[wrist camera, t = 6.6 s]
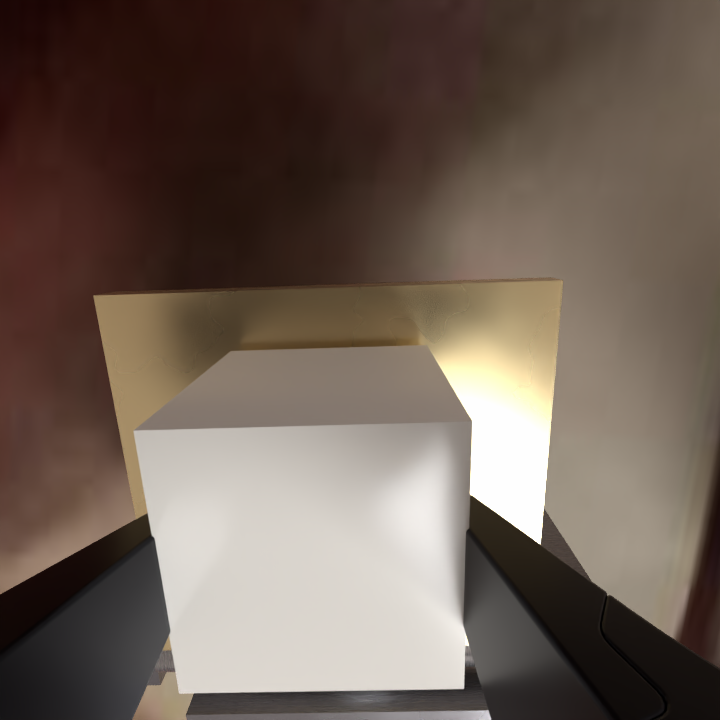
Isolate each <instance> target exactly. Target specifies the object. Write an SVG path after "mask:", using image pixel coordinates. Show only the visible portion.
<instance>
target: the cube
mask: <svg viewBox="0 0 720 720" xmlns="http://www.w3.org/2000/svg"><path fill="white" fill-rule="evenodd" d="M472 423H473V421H472V420H471V418H470V416H469V415H468V413H467V411H466V410H465V408H464V406H463V405H462V403H461V401H460V400H459V398H458V396H457V395H456V393H455V391H454V389H453V388H452V386H451V384H450V383H449V381H448V379H447V378H446V376H445V374H444V373H443V371H442V369H441V368H440V366H439V364H438V363H437V361H436V359H435V358H434V356H433V354H432V353H431V351H430V349H429V348H428V346H427V345H412V346H380V347H347V348H314V349H282V350H249V351H230V352H229V353H228V354H227V355H225V356H224V357H223V358H222V359H220V360H219V361H218V362H217V363H216V364H214V365H213V366H212V367H211V368H209V369H208V370H207V371H206V372H205V373H203V374H202V375H201V376H200V377H198V378H197V379H196V380H195V381H194V382H192V383H191V384H190V385H189V386H187V387H186V388H185V389H184V390H183V391H181V392H180V393H179V394H178V395H176V396H175V397H174V398H173V399H171V400H170V401H169V402H168V403H167V404H165V405H164V406H163V407H162V408H160V409H159V410H158V411H157V412H156V413H154V414H153V415H152V416H151V417H149V418H148V419H147V420H146V421H145V422H143V423H142V424H141V425H140V426H138V427H137V428H136V429H135V430H134V437H135V443H136V449H137V454H138V460H139V466H140V471H141V477H142V483H143V489H144V494H145V500H146V506H147V512H148V517H149V523H150V529H151V534H152V536H153V537H154V538H155V543H156V549H157V555H158V561H159V566H160V572H161V578H162V584H163V590H164V596H165V601H166V607H167V613H168V619H169V625H170V630H171V631H170V634H169V637H170V643H171V649H172V655H173V660H174V666H175V672H176V677H177V683H178V689H179V693H241V692H304V691H367V690H430V689H464V674H465V643H466V633H465V630H464V626H463V618H464V583H465V548H466V531H467V529H469V517H470V486H471V454H472Z"/></svg>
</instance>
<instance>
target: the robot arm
mask: <svg viewBox="0 0 720 720" xmlns="http://www.w3.org/2000/svg"><path fill="white" fill-rule="evenodd" d="M463 626H464V630H465V633H466V637H467V640H468V643H469V647H470V650H471V654H472V657H473V660H474V664H475V667H476V670H477V674H478V677H479V680H480V684H481V687H482V690H483V694H484V697H485V701H486V704H487V707H488V711H489V714H490V717H491V720H720V668H718V667H716V666H715V665H713V664H712V663H710V662H708V661H707V660H705V659H704V658H702V657H701V656H699V655H698V654H696V653H694V652H693V651H691V650H690V649H688V648H687V647H685V646H684V645H682V644H681V643H679V642H677V641H676V640H674V639H673V638H671V637H670V636H668V635H667V634H665V633H664V632H662V631H661V630H659V629H658V628H656V627H655V626H653V625H652V624H651V623H649V622H648V621H646V620H645V619H643V618H642V617H641V616H639V615H638V614H636V613H635V612H633V611H632V610H630V609H629V608H628V607H626V606H625V605H624V604H622V603H621V602H619V601H618V600H617V599H615V598H614V597H613V596H611V595H608V596H607V593H606V592H605V591H604V590H603V589H601V588H600V587H598V586H597V585H596V584H594V583H593V582H592V581H590V580H589V579H587V578H586V577H585V576H583V575H582V574H581V573H579V572H578V571H576V570H575V569H574V568H572V567H571V566H569V565H568V564H567V563H565V562H564V561H563V560H561V559H560V558H558V557H557V556H556V555H554V554H553V553H552V552H550V551H549V550H547V549H546V548H545V547H543V546H542V545H540V544H539V543H538V542H536V541H535V540H534V539H532V538H531V537H529V536H528V535H527V534H525V533H524V532H523V531H521V530H520V529H518V528H517V527H516V526H514V525H513V524H512V523H510V522H509V521H507V520H506V519H505V518H503V517H502V516H500V515H499V514H498V513H496V512H495V511H494V510H492V509H491V508H489V507H488V506H487V505H485V504H484V503H483V502H481V501H480V500H478V499H477V498H476V497H474V496H473V495H471V494H470V517H469V529H467V531H466V548H465V583H464V618H463ZM170 631H171V630H170V625H169V619H168V613H167V607H166V601H165V596H164V590H163V584H162V578H161V572H160V566H159V561H158V555H157V549H156V543H155V538H154V537H153V536H152V534H151V529H150V523H149V517H148V513H147V514H145V515H143V516H141V517H139V518H138V519H136V520H134V521H132V522H130V523H129V524H127V525H125V526H123V527H121V528H120V529H118V530H116V531H114V532H112V533H110V534H109V535H107V536H105V537H103V538H101V539H100V540H98V541H96V542H94V543H92V544H91V545H89V546H87V547H85V548H83V549H82V550H80V551H78V552H76V553H74V554H73V555H71V556H69V557H67V558H65V559H63V560H62V561H60V562H58V563H56V564H54V565H53V566H51V567H49V568H47V569H45V570H44V571H42V572H40V573H38V574H36V575H35V576H33V577H31V578H29V579H27V580H26V581H24V582H22V583H20V584H18V585H16V586H15V587H13V588H11V589H9V590H7V591H6V592H4V593H2V594H0V720H132V719H133V716H134V714H135V712H136V709H137V707H138V705H139V703H140V700H141V698H142V696H143V694H144V691H145V689H146V687H147V684H148V682H149V680H150V678H151V675H152V673H153V671H154V669H155V666H156V664H157V662H158V659H159V657H160V655H161V653H162V650H163V648H164V646H165V644H166V641H167V639H168V637H169V634H170Z"/></svg>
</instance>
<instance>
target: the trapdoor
mask: <svg viewBox="0 0 720 720" xmlns="http://www.w3.org/2000/svg"><path fill="white" fill-rule="evenodd" d="M562 289H563V280H559V279H555V278H551V277H550V278H519V279H489V280H458V281H427V282H397V283H366V284H335V285H305V286H274V287H243V288H213V289H182V290H151V291H121V292H107V293H103V294H98V295H94V302H95V307H96V312H97V317H98V322H99V328H100V333H101V338H102V343H103V349H104V354H105V359H106V364H107V369H108V375H109V380H110V385H111V390H112V396H113V401H114V406H115V411H116V417H117V422H118V427H119V432H120V437H121V443H122V448H123V453H124V458H125V464H126V469H127V474H128V479H129V485H130V490H131V495H132V500H133V505H134V511H135V516H136V519H138V518H139V517H141V516H143V515H145V514H147V513H148V512H147V506H146V500H145V494H144V489H143V483H142V477H141V471H140V466H139V460H138V454H137V449H136V443H135V437H134V430H135V429H136V428H137V427H138V426H140V425H141V424H142V423H143V422H145V421H146V420H147V419H148V418H149V417H151V416H152V415H153V414H154V413H156V412H157V411H158V410H159V409H160V408H162V407H163V406H164V405H165V404H167V403H168V402H169V401H170V400H171V399H173V398H174V397H175V396H176V395H178V394H179V393H180V392H181V391H183V390H184V389H185V388H186V387H187V386H189V385H190V384H191V383H192V382H194V381H195V380H196V379H197V378H198V377H200V376H201V375H202V374H203V373H205V372H206V371H207V370H208V369H209V368H211V367H212V366H213V365H214V364H216V363H217V362H218V361H219V360H220V359H222V358H223V357H224V356H225V355H227V354H228V353H229V352H230V351H249V350H282V349H314V348H347V347H380V346H412V345H427V346H428V348H429V349H430V351H431V353H432V354H433V356H434V358H435V359H436V361H437V363H438V364H439V366H440V368H441V369H442V371H443V373H444V374H445V376H446V378H447V379H448V381H449V383H450V384H451V386H452V388H453V389H454V391H455V393H456V395H457V396H458V398H459V400H460V401H461V403H462V405H463V406H464V408H465V410H466V411H467V413H468V415H469V416H470V418H471V420H472V421H473V423H472V454H471V486H470V494H471V495H473V496H474V497H476V498H477V499H478V500H480V501H481V502H483V503H484V504H485V505H487V506H488V507H489V508H491V509H492V510H494V511H495V512H496V513H498V514H499V515H500V516H502V517H503V518H505V519H506V520H507V521H509V522H510V523H512V524H513V525H514V526H516V527H517V528H518V529H520V530H521V531H523V532H524V533H525V534H527V535H528V536H529V537H531V538H532V539H534V540H535V541H536V542H538V543H539V544H540V543H541V532H542V520H543V509H544V497H545V485H546V474H547V462H548V451H549V439H550V428H551V416H552V404H553V393H554V381H555V370H556V358H557V346H558V335H559V323H560V312H561V300H562ZM155 670H156V671H157V672H175V666H174V660H173V655H172V649H171V643H170V637H168V639H167V641H166V644H165V646H164V648H163V650H162V653H161V655H160V657H159V659H158V662H157V664H156V666H155ZM186 717H187V720H491V717H490V714H489V711H488V707H487V704H486V701H485V697H484V694H483V690H482V687H481V684H480V680H479V677H478V674H477V670H476V667H475V664H474V660H473V657H472V654H471V650H470V647H469V643H468V640H467V637H466V643H465V674H464V689H430V690H367V691H304V692H241V693H194V695H193V698H192V700H191V703H190V706H189V708H188V711H187V714H186Z"/></svg>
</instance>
